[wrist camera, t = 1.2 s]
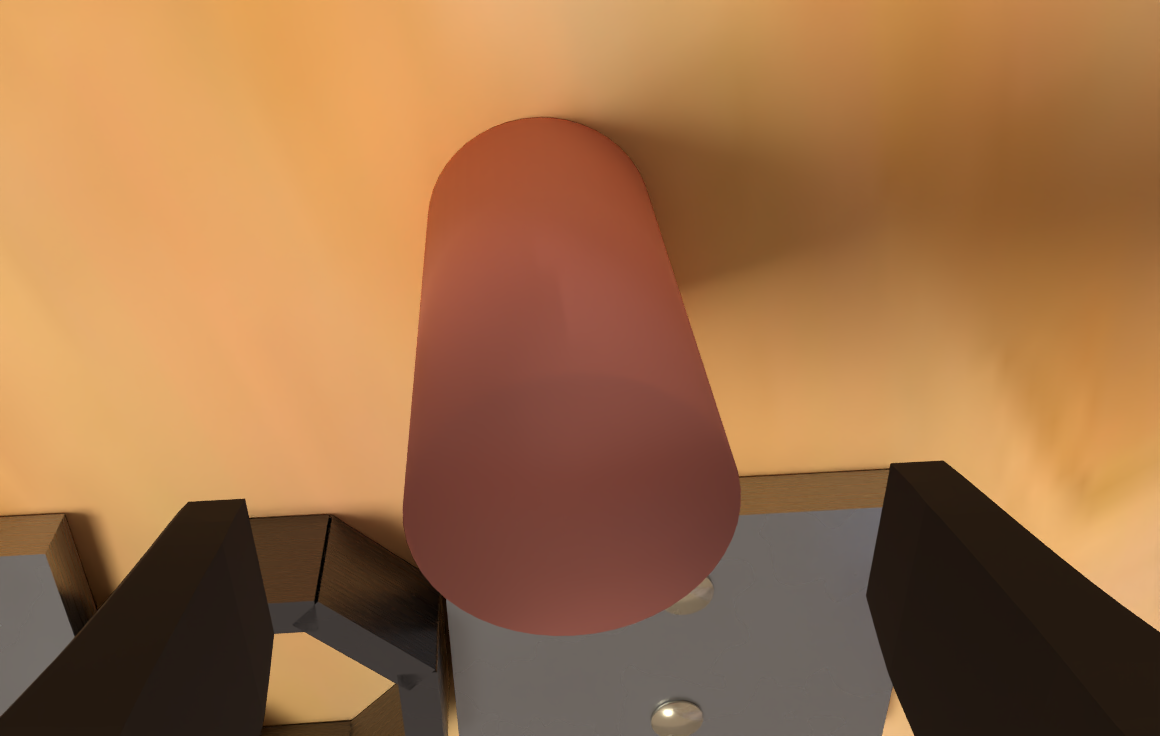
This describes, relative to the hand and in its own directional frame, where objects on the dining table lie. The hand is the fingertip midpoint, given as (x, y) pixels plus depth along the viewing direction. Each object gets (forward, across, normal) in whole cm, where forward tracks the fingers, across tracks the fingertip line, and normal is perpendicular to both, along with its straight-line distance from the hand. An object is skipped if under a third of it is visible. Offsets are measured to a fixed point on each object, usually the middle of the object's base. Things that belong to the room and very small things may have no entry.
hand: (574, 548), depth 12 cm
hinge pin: (+9, 0, 0) cm, 9 cm away
